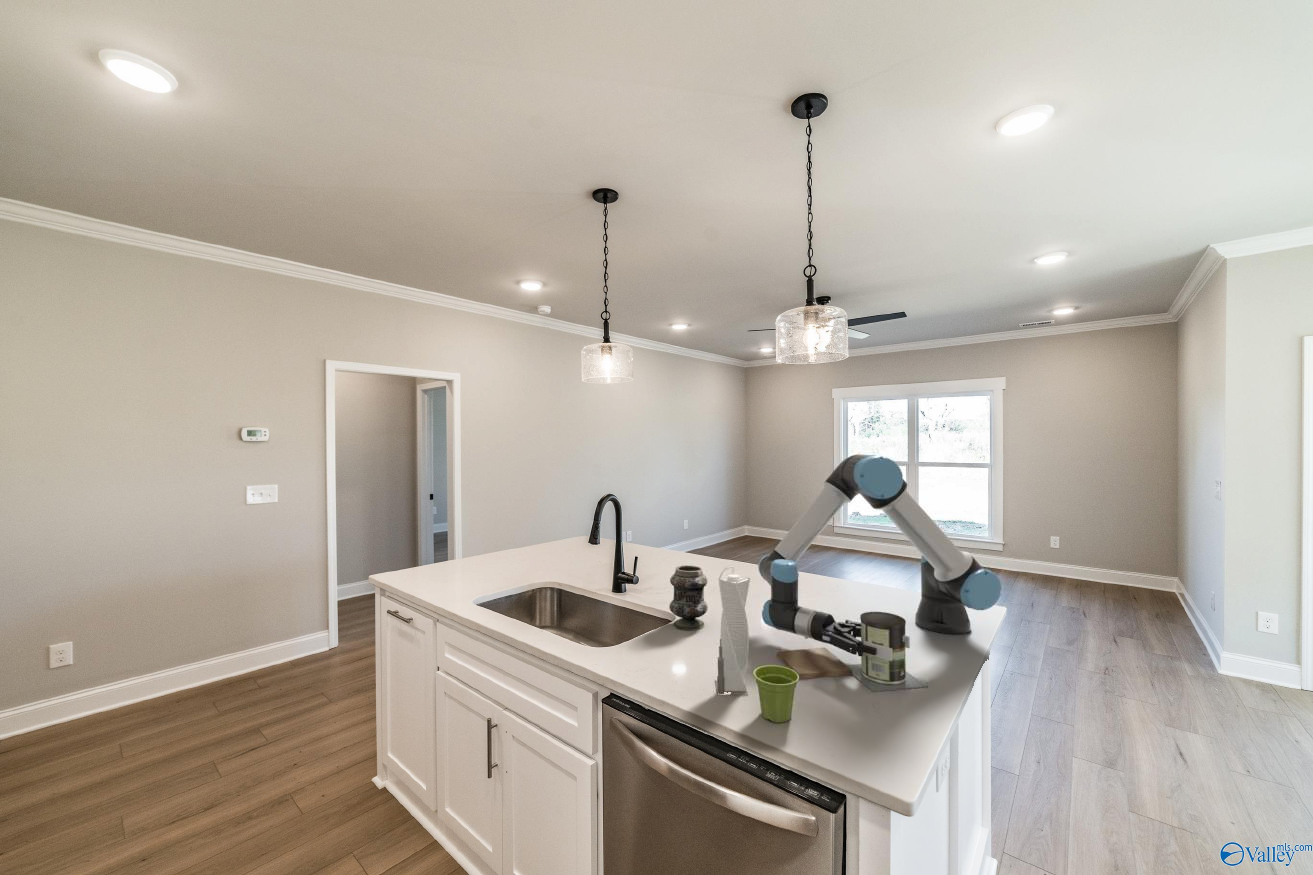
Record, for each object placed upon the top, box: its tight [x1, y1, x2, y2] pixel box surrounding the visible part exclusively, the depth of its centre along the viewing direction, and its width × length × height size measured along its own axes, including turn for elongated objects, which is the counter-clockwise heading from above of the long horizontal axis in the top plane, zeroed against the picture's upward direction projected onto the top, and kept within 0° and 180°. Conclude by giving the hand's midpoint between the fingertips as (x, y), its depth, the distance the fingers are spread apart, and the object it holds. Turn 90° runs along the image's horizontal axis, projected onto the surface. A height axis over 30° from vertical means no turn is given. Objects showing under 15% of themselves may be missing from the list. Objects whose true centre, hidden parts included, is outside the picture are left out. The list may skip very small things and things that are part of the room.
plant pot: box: [752, 664, 800, 723], centre depth 110 cm, size 9×9×9 cm
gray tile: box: [846, 663, 929, 693], centre depth 128 cm, size 14×14×1 cm
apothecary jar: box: [668, 564, 709, 631], centre depth 164 cm, size 12×12×18 cm
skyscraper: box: [714, 565, 751, 696], centre depth 123 cm, size 8×8×28 cm
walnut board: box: [776, 647, 853, 680], centre depth 135 cm, size 14×14×1 cm
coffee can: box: [859, 611, 907, 685], centre depth 128 cm, size 10×10×14 cm
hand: (900, 648), depth 125 cm, fingers closed on coffee can, 10 cm apart
